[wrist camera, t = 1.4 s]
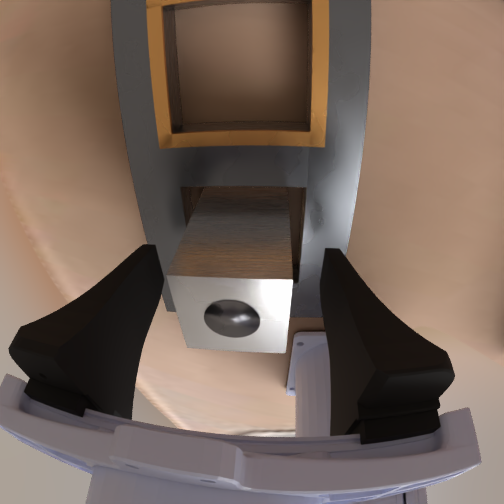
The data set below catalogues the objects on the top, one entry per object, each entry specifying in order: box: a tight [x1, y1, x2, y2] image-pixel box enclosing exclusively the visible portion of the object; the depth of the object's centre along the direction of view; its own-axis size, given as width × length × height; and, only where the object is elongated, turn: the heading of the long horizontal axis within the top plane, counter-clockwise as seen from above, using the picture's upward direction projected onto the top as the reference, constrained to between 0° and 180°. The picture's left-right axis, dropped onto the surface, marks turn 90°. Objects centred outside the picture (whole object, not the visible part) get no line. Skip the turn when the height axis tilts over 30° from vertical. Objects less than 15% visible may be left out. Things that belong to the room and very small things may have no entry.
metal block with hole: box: [166, 187, 293, 353], centre depth 13 cm, size 4×4×6 cm
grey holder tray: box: [111, 0, 371, 317], centre depth 13 cm, size 18×10×2 cm, turn 1°
